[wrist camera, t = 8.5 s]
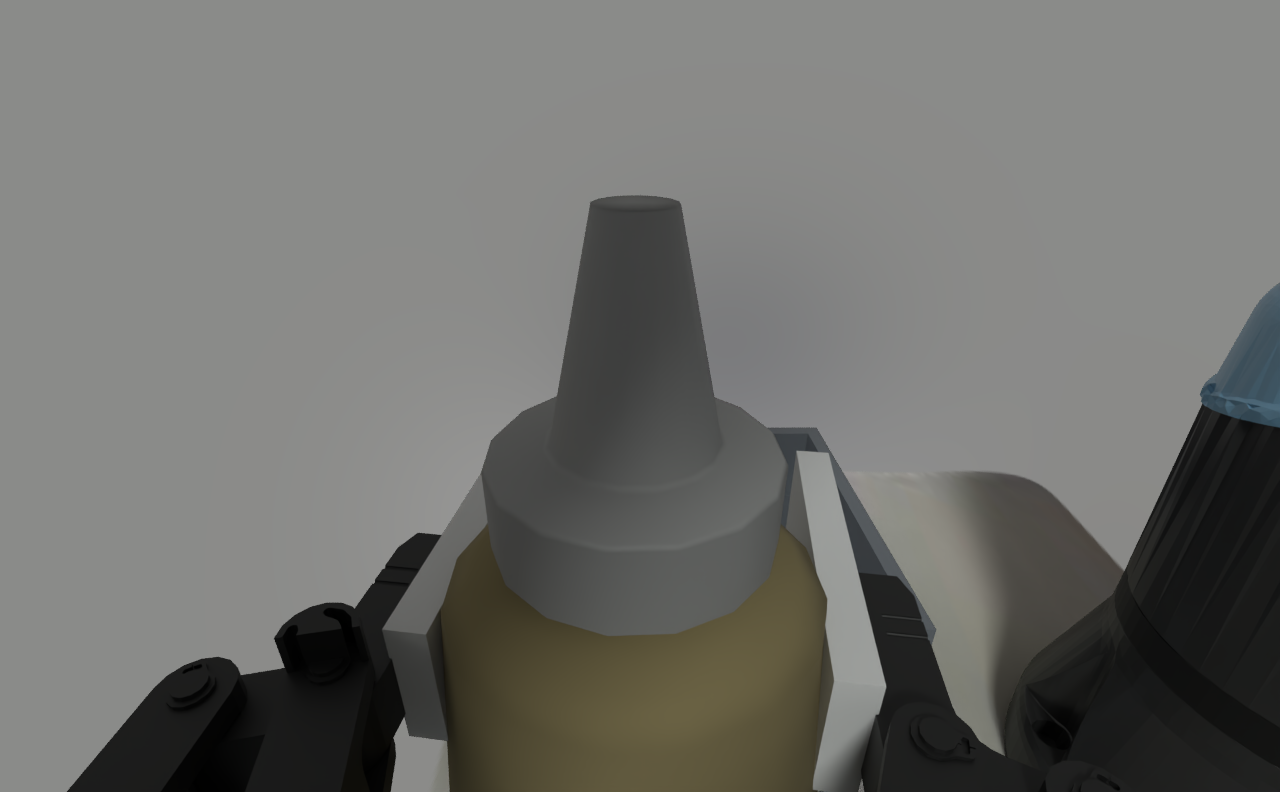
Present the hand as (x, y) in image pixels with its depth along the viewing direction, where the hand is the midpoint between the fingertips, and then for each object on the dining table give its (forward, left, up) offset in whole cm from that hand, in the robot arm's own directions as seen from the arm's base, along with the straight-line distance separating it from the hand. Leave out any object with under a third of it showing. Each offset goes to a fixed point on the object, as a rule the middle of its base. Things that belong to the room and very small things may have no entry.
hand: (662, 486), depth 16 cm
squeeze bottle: (+3, +4, -10) cm, 11 cm away
